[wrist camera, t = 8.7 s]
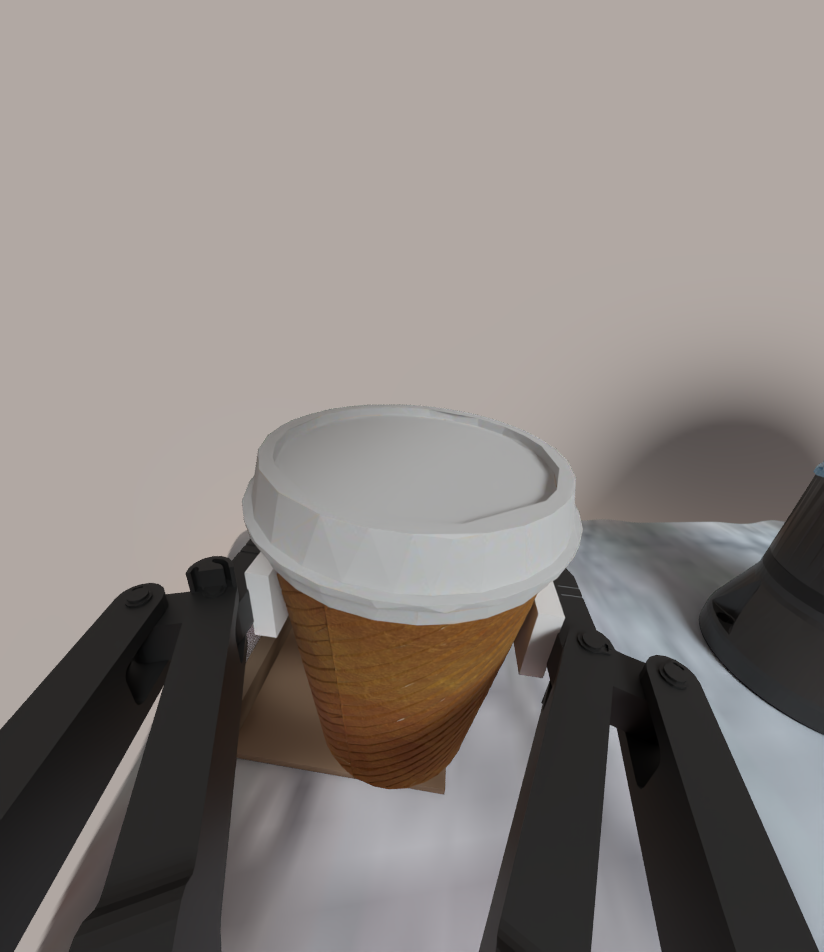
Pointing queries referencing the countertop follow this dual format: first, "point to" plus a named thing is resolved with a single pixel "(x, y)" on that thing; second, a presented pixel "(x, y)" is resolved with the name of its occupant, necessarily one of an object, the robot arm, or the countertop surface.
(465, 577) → the disposable coffee cup
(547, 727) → the robot arm
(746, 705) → the countertop surface
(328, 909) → the countertop surface
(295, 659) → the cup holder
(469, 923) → the countertop surface
